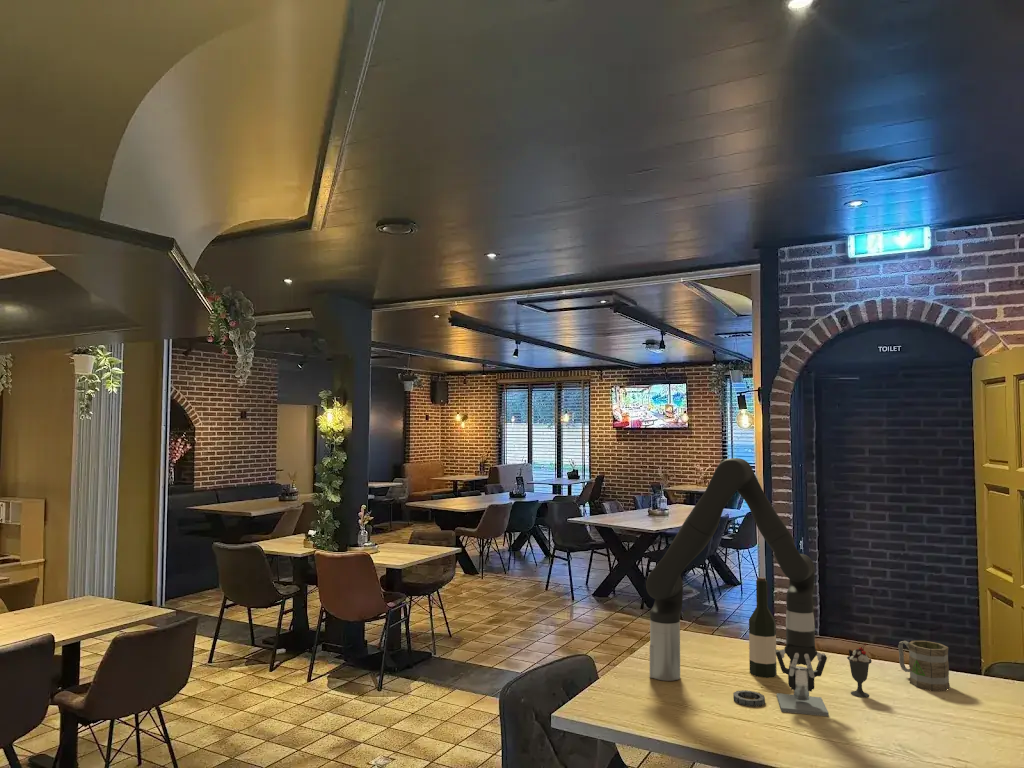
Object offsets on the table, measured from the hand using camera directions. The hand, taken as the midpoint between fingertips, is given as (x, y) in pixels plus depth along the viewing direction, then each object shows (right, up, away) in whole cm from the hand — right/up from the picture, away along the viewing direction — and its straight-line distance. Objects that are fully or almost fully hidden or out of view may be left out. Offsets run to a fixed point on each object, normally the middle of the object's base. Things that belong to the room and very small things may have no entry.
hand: (801, 689), depth 201 cm
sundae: (+21, -6, +10) cm, 24 cm away
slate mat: (0, -5, 0) cm, 5 cm away
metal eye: (-14, -5, +3) cm, 15 cm away
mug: (+46, -7, +21) cm, 51 cm away
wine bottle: (-1, -7, +28) cm, 29 cm away
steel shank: (0, -2, 0) cm, 2 cm away
